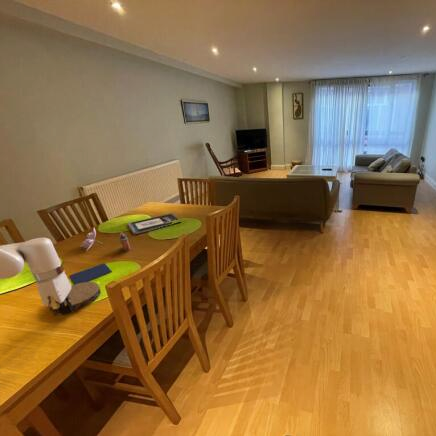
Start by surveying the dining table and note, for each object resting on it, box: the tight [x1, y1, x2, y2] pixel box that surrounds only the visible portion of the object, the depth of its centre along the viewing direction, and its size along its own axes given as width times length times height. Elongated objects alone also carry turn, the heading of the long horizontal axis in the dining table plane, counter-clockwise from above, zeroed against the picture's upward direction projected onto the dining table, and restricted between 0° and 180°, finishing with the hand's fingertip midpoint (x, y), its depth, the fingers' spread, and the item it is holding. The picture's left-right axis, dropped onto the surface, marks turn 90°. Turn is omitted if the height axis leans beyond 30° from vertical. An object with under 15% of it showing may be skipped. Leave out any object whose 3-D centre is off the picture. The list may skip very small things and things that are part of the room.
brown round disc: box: [48, 281, 102, 315], centre depth 99 cm, size 16×16×3 cm
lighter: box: [119, 231, 132, 253], centre depth 137 cm, size 8×3×10 cm, turn 45°
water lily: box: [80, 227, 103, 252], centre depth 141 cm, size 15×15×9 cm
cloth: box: [69, 262, 113, 285], centre depth 116 cm, size 14×12×1 cm
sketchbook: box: [126, 213, 179, 235], centre depth 171 cm, size 22×30×2 cm
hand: (67, 312), depth 91 cm, fingers closed
